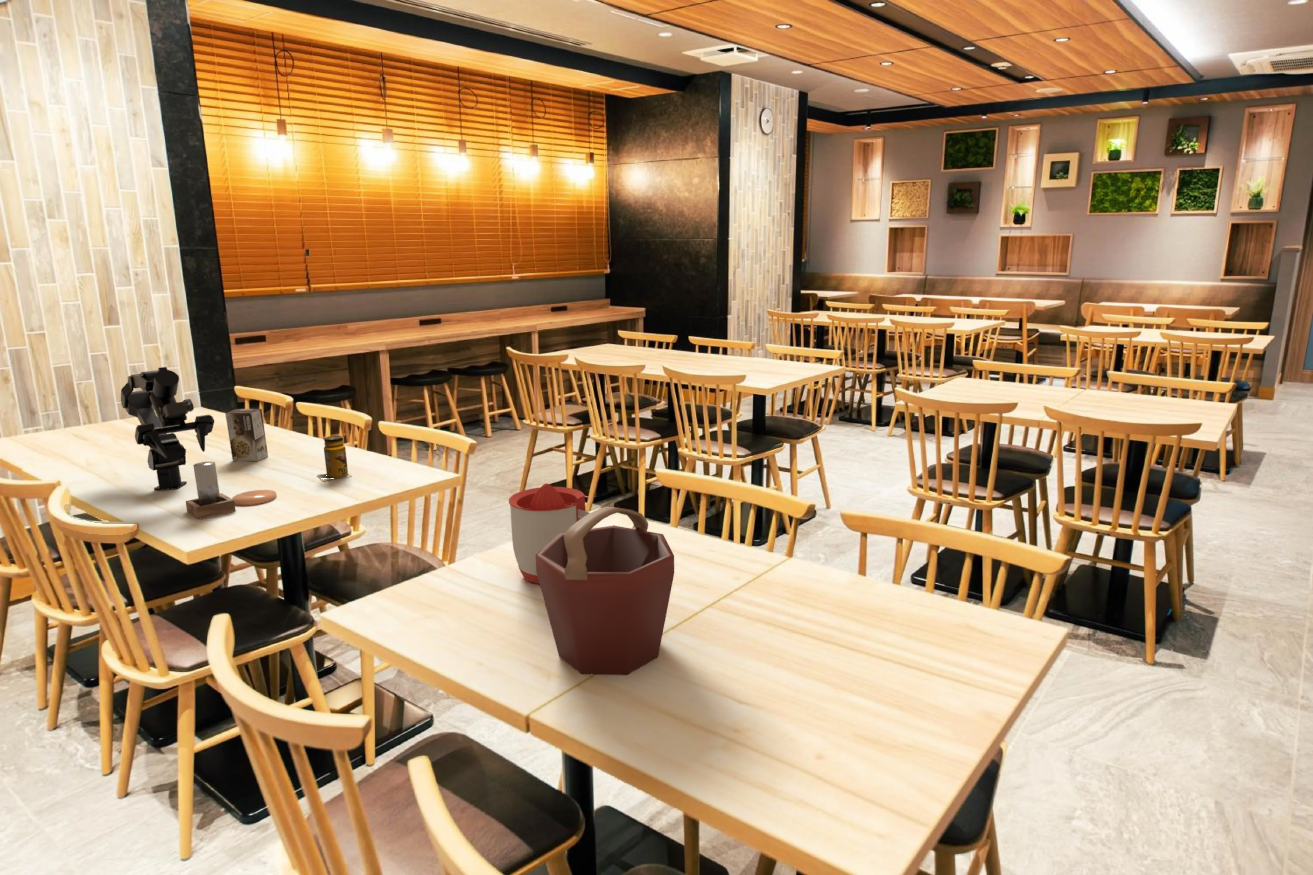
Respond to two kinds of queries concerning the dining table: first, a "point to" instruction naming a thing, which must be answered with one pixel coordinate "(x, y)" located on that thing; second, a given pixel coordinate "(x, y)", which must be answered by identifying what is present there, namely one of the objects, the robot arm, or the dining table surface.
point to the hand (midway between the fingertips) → (185, 454)
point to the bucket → (607, 593)
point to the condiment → (335, 458)
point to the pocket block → (210, 507)
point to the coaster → (254, 497)
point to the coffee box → (246, 434)
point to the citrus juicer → (541, 521)
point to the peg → (207, 483)
